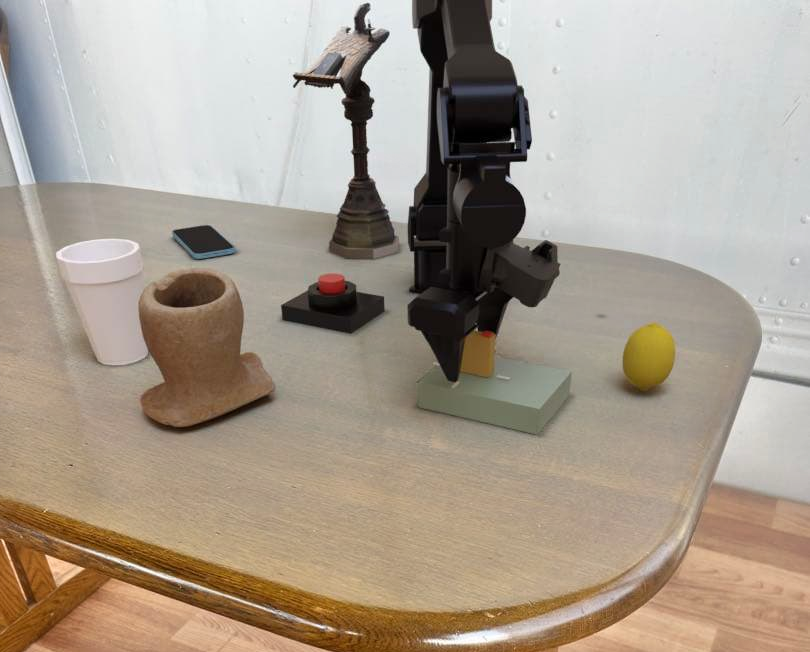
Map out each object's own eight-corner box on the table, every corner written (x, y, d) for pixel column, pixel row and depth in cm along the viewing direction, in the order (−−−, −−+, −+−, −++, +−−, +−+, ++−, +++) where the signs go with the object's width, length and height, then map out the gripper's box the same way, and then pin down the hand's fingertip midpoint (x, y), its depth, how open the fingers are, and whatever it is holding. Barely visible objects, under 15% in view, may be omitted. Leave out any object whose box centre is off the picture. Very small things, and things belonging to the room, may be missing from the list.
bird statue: (341, 273, 127) (324, 5, 106) (293, 254, 135) (268, 2, 114) (419, 250, 135) (418, -2, 114) (370, 234, 143) (360, -4, 122)
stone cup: (182, 450, 83) (152, 307, 74) (130, 410, 90) (98, 275, 81) (304, 404, 91) (290, 269, 82) (247, 370, 98) (229, 244, 89)
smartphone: (194, 254, 132) (170, 230, 143) (195, 261, 133) (171, 236, 143) (236, 247, 135) (209, 224, 145) (237, 254, 135) (210, 230, 146)
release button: (313, 292, 109) (312, 279, 108) (328, 284, 112) (327, 271, 111) (336, 296, 108) (335, 283, 107) (350, 288, 110) (349, 275, 109)
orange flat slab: (447, 369, 90) (448, 328, 87) (452, 364, 91) (453, 324, 88) (488, 378, 88) (490, 336, 85) (493, 373, 89) (496, 331, 86)
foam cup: (175, 345, 105) (155, 242, 97) (133, 374, 98) (108, 266, 90) (113, 337, 107) (88, 236, 99) (68, 365, 100) (38, 258, 92)
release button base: (282, 320, 111) (279, 291, 108) (318, 299, 117) (316, 272, 115) (351, 334, 107) (349, 304, 104) (384, 311, 113) (383, 283, 111)
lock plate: (413, 406, 90) (412, 379, 88) (452, 371, 97) (452, 346, 95) (537, 435, 84) (539, 407, 82) (569, 396, 91) (572, 370, 89)
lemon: (611, 381, 94) (621, 314, 89) (658, 379, 94) (670, 312, 90) (626, 403, 90) (637, 333, 85) (675, 400, 90) (689, 331, 85)
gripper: (516, 255, 70) (505, 416, 80) (584, 204, 83) (568, 347, 93) (403, 239, 75) (406, 393, 84) (485, 193, 88) (479, 330, 97)
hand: (470, 364), depth 89 cm, fingers open, 9 cm apart
